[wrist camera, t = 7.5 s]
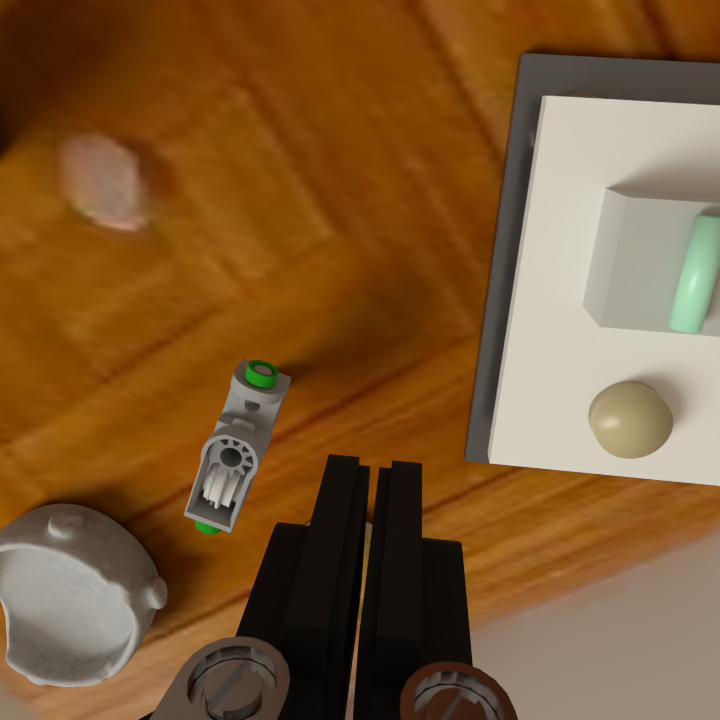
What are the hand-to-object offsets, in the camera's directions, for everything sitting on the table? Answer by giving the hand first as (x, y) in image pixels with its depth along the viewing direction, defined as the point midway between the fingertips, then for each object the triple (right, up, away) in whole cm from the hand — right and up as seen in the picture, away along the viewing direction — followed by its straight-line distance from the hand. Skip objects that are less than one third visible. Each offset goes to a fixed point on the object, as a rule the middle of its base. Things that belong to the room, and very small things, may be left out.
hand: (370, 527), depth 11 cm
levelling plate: (+15, +6, +22) cm, 27 cm away
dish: (-22, -13, +38) cm, 45 cm away
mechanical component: (-6, +2, +30) cm, 30 cm away
